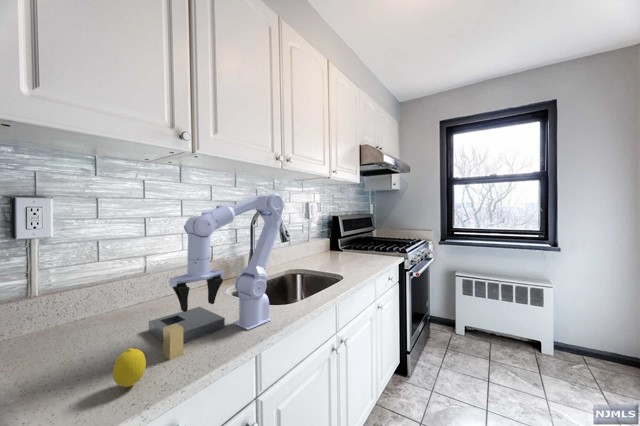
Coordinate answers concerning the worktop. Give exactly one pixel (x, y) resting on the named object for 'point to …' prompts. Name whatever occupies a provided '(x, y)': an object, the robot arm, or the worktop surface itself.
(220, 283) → the robot arm
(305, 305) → the worktop surface
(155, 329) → the peg hole base
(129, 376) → the lemon
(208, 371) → the worktop surface
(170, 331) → the tan wooden block
